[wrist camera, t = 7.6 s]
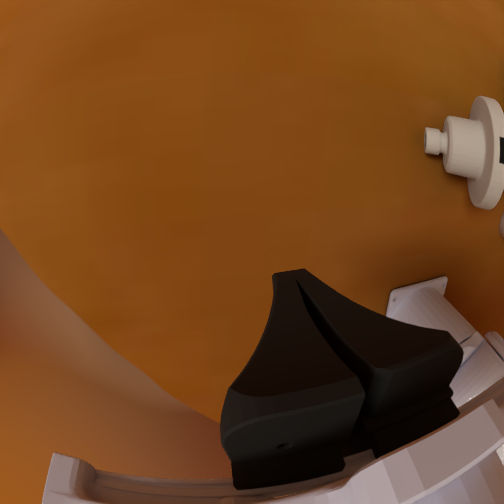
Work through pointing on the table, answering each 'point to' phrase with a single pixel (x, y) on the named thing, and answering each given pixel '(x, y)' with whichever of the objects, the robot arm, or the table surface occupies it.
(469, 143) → the showerhead
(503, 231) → the pvc coupling
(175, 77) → the table surface
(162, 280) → the table surface
